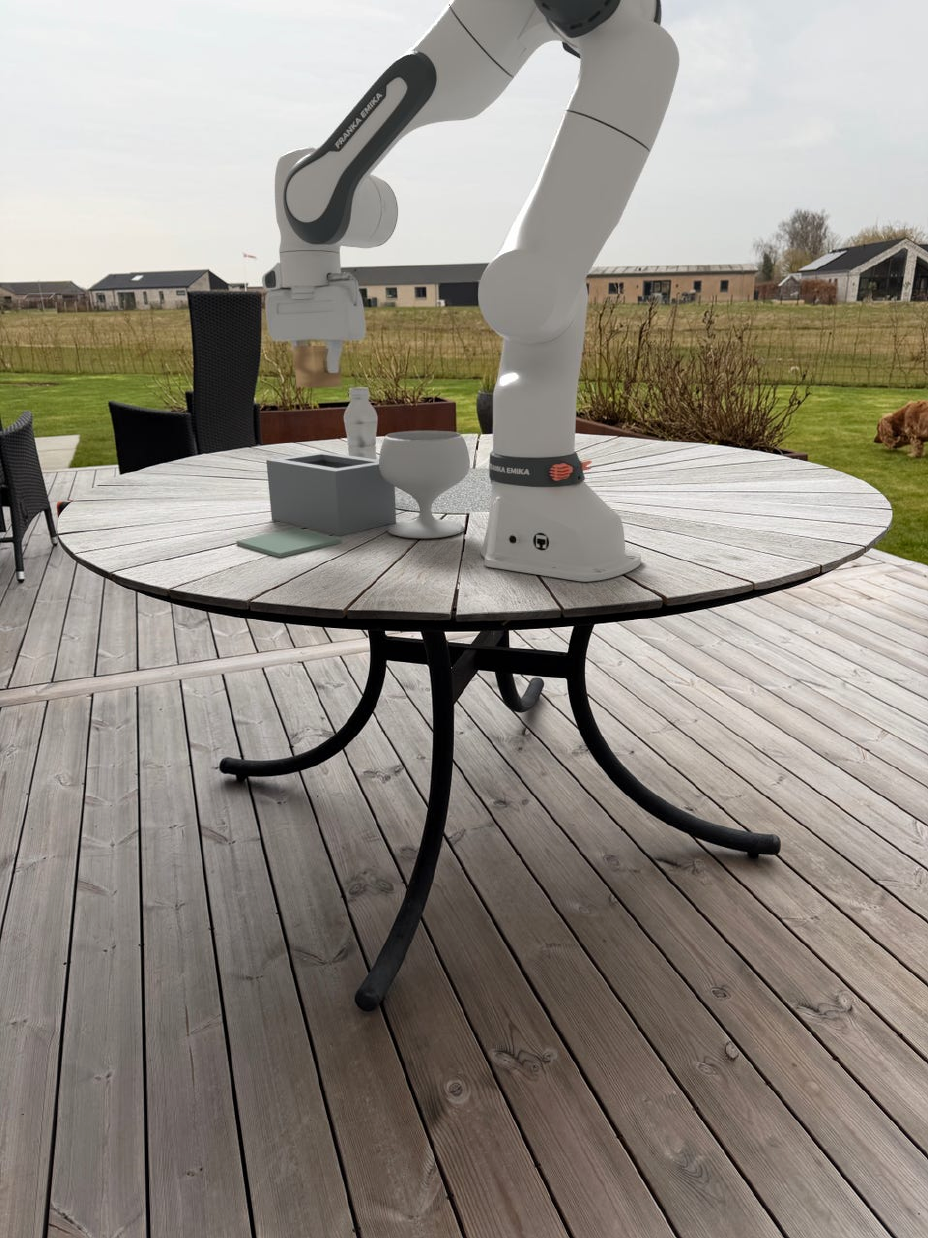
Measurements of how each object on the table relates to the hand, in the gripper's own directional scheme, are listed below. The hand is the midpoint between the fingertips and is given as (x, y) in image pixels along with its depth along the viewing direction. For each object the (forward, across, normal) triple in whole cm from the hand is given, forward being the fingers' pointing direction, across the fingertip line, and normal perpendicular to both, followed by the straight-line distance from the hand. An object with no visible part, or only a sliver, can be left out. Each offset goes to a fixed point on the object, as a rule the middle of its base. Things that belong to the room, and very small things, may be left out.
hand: (318, 372), depth 122 cm
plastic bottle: (+24, +15, -21) cm, 35 cm away
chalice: (+24, -16, -7) cm, 30 cm away
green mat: (+24, -6, +12) cm, 27 cm away
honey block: (+2, 0, 0) cm, 2 cm away
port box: (+24, +1, -2) cm, 24 cm away
